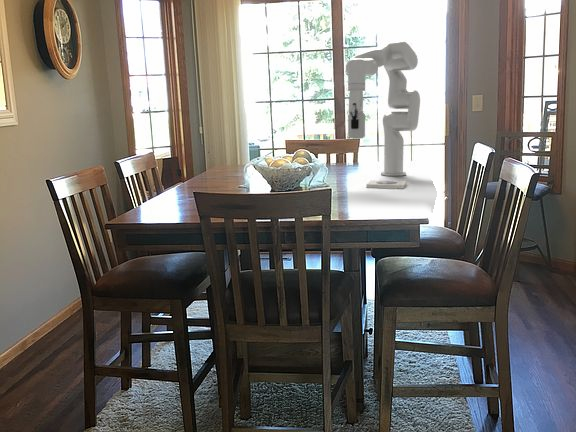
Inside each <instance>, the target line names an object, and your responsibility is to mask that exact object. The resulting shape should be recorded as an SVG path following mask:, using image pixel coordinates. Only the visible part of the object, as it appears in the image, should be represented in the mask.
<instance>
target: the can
mask: <svg viewBox="0 0 576 432" xmlns="http://www.w3.org/2000/svg"><path fill="white" fill-rule="evenodd" d="M350 113H351V114H349V113H348V115H347V120H348V121H347V132H348V133H347V137H348V138H349V139H353V140H354V139H358V140H359V139H363V138H364V137H366V114H365V113H364V110H363V111H360V113H359V114H358V120H359V128H358V129H351V116H352V111H351V112H350ZM356 116H357V115H356Z"/></svg>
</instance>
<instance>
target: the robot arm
mask: <svg viewBox="0 0 576 432" xmlns="http://www.w3.org/2000/svg"><path fill="white" fill-rule="evenodd" d="M418 61H419V60H418V56H417V54H416V52H415V51H414V49H413V48H412V47H411V45H410V44H408V43H407V41H405V40H394V41H385V42H383V43H381V44H379V45H378V46H377V47H375V48H374V49H372V50H368V51H365V52H362V53H359V54H356V55H354V56H353V57H351V58H349V59H348V61H347V63H346V65H345V73H346V75H347V91H348V92H349V95H348V96H349V97H348V114H351V113H350V112H351V111H352V116H351V129H358V128H359V120H358V114H359V113H360V111H364V92H365V91H366V77H371V76H374V75H376V74H377V72H378V71H379V70H378V69H379V68H380V67H383V68H384V70H385V72H386V74H387V76H388V80H389V82H388V83H389V85H388V95H387V105H388V108H390V109H393V110H407V111H389V112H386V113H385V114H383V117H382V125H383V127H382V128H383V133H384V135H383V136H384V138H383V139H384V141H383V142H384V147H383V149H384V150H383V151H384V152H383V153H384V154H383V157H384V158H383V167H384V168H383V171H381V172H380V175H381V176H387V177H400V176H406V175H407V172H406V171H404V143H405V142H404V141H405V140H404V137H403V135H402V133H401V132H413V131H415V130H416V129H417V128H418V123H419V120H420V119H419V116H420V107H421V95H420V93H419V91H418V90H416V89H407V84H408V83H407V81H408V80H407V78H406V75H405V74H404V73H403V72H402V71H412V70H414V69H416V68H417V66H418ZM356 115H357V116H356Z"/></svg>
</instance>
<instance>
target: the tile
mask: <svg viewBox="0 0 576 432" xmlns="http://www.w3.org/2000/svg"><path fill="white" fill-rule="evenodd" d="M406 186H407V181H406V180H370V181H369V182H368V183H366V185H365V187H366V188H367V189H369V188H370V189H397V188H403V189H404V188H405V187H406Z"/></svg>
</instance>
